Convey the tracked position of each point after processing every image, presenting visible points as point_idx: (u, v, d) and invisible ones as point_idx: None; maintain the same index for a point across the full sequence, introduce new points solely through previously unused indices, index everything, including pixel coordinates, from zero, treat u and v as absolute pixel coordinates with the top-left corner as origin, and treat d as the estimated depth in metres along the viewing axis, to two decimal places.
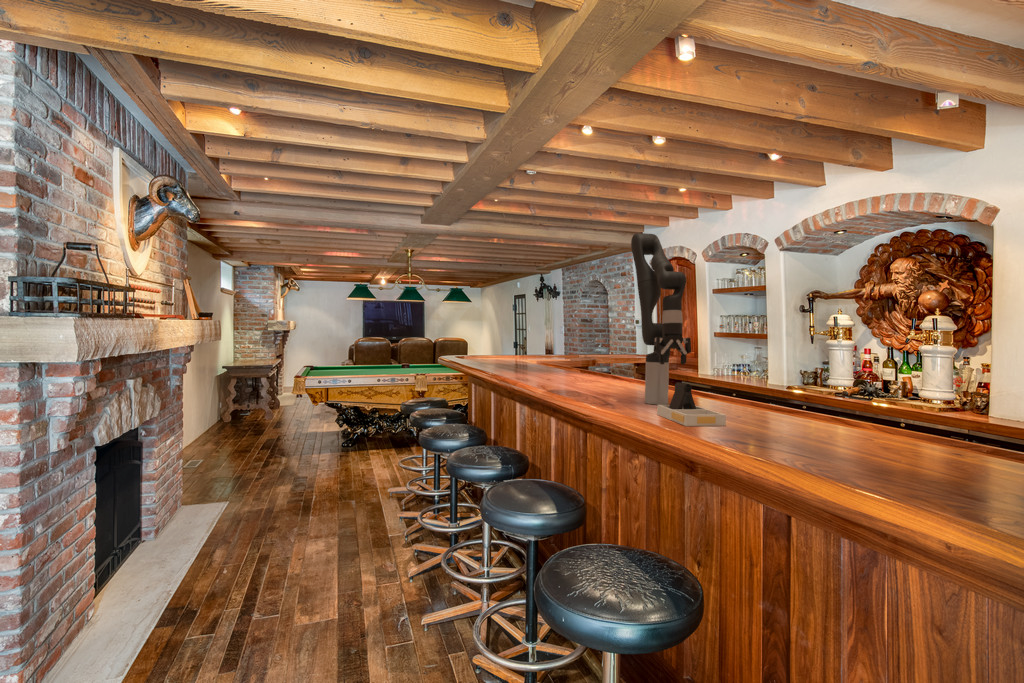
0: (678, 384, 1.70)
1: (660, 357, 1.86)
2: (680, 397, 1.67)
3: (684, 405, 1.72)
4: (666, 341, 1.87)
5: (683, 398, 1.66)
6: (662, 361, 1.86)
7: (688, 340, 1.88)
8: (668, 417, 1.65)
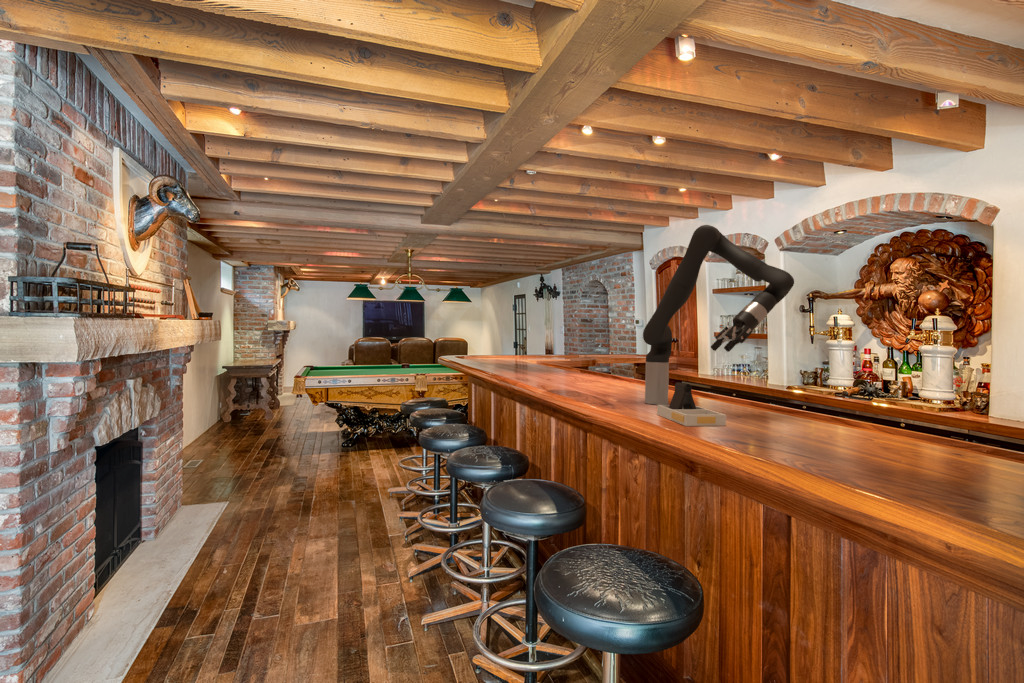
0: (678, 384, 1.70)
1: None
2: (680, 397, 1.67)
3: (684, 405, 1.72)
4: None
5: (683, 398, 1.66)
6: (730, 349, 1.66)
7: None
8: (668, 417, 1.65)
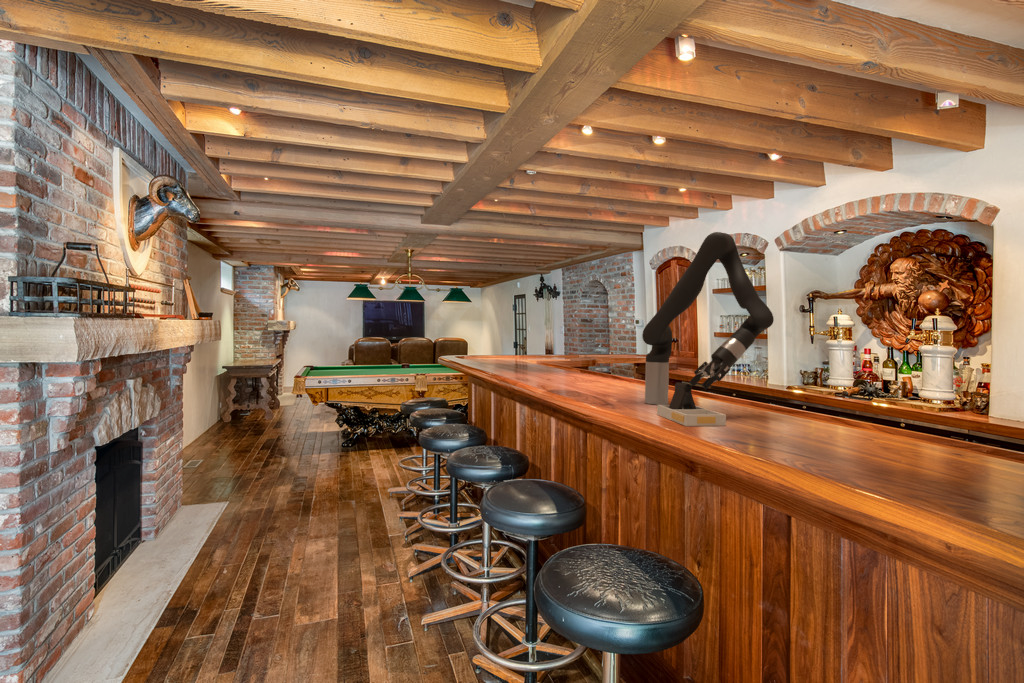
0: (678, 384, 1.70)
1: (711, 383, 1.65)
2: (680, 397, 1.67)
3: (684, 405, 1.72)
4: None
5: (683, 398, 1.66)
6: (708, 387, 1.66)
7: None
8: (668, 417, 1.65)
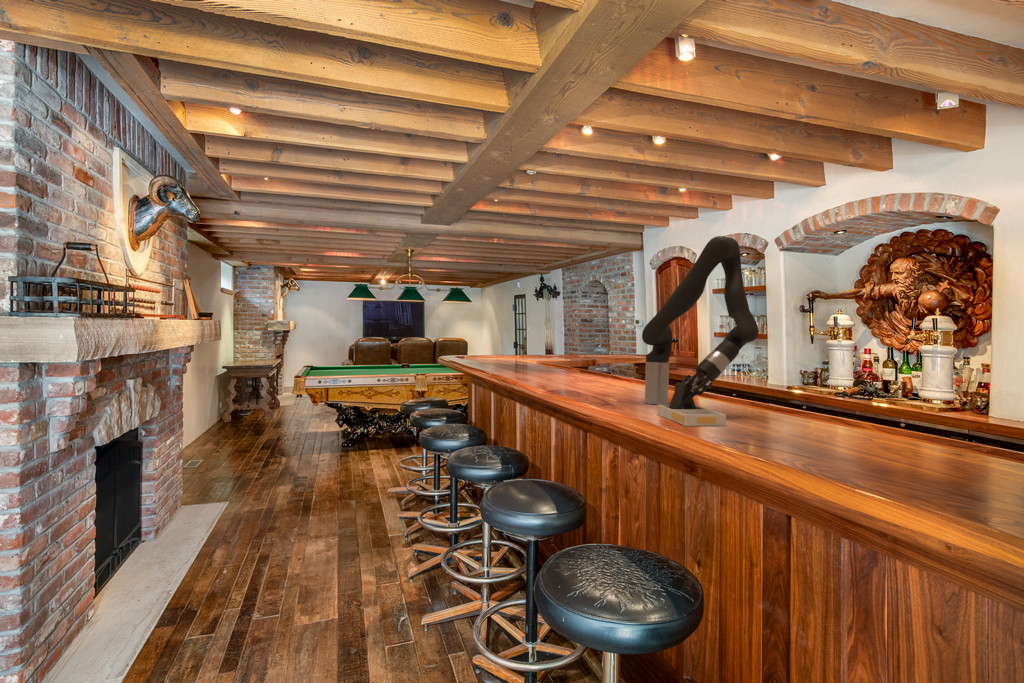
0: (678, 384, 1.70)
1: (692, 397, 1.65)
2: (680, 397, 1.67)
3: (684, 405, 1.72)
4: None
5: None
6: None
7: None
8: (668, 417, 1.65)
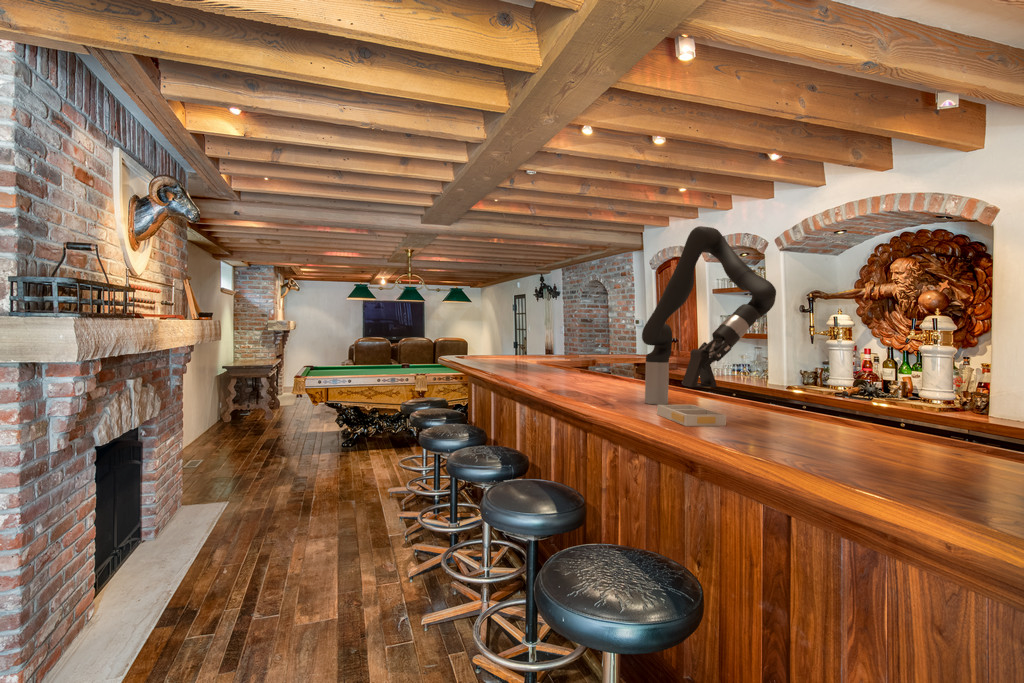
0: (694, 351, 1.60)
1: None
2: (697, 364, 1.57)
3: (700, 373, 1.61)
4: None
5: None
6: None
7: None
8: (668, 417, 1.65)
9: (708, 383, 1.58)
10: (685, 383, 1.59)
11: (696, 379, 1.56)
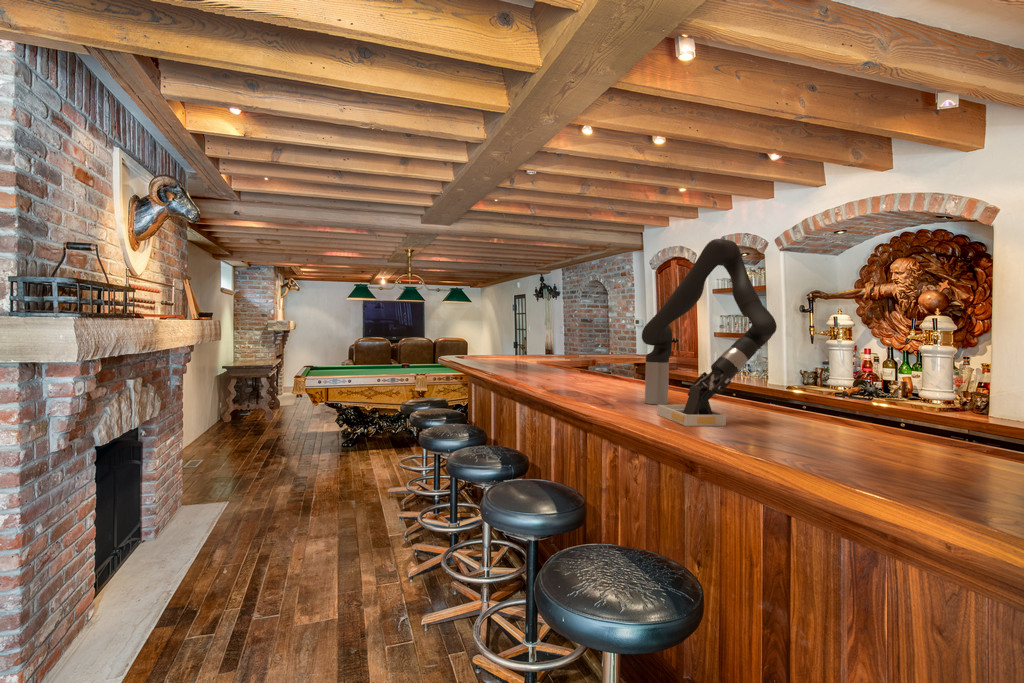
0: (693, 387, 1.60)
1: (711, 396, 1.54)
2: (696, 401, 1.57)
3: (699, 410, 1.62)
4: None
5: (698, 402, 1.56)
6: (707, 400, 1.55)
7: None
8: (668, 417, 1.65)
9: None
10: None
11: None
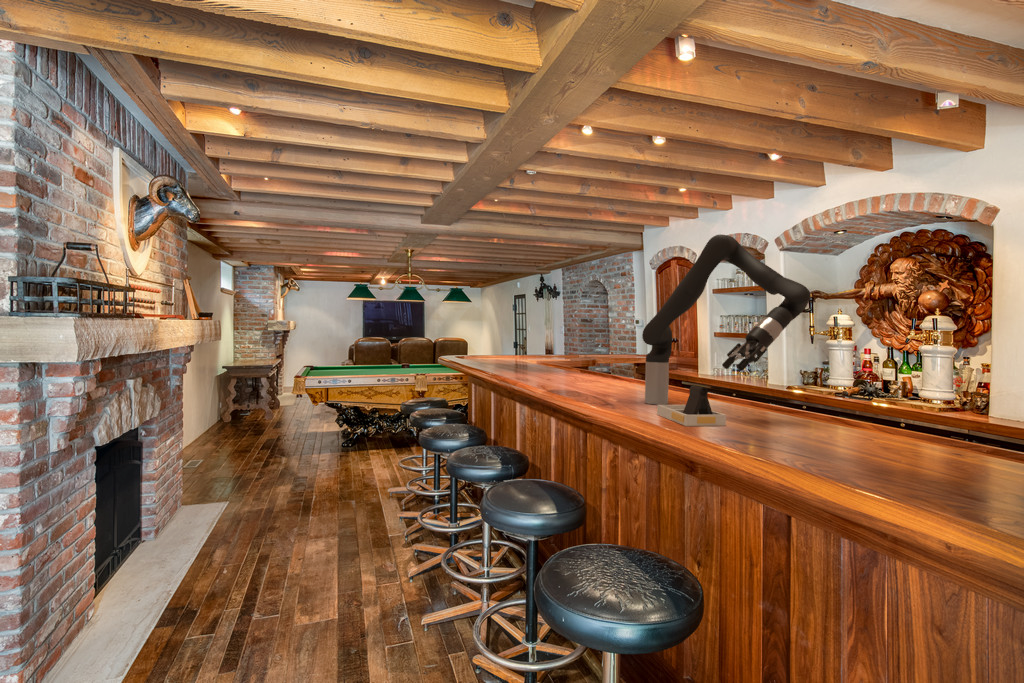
0: (693, 387, 1.60)
1: None
2: (696, 401, 1.57)
3: (699, 410, 1.62)
4: None
5: (698, 402, 1.56)
6: None
7: None
8: (668, 417, 1.65)
9: None
10: None
11: None
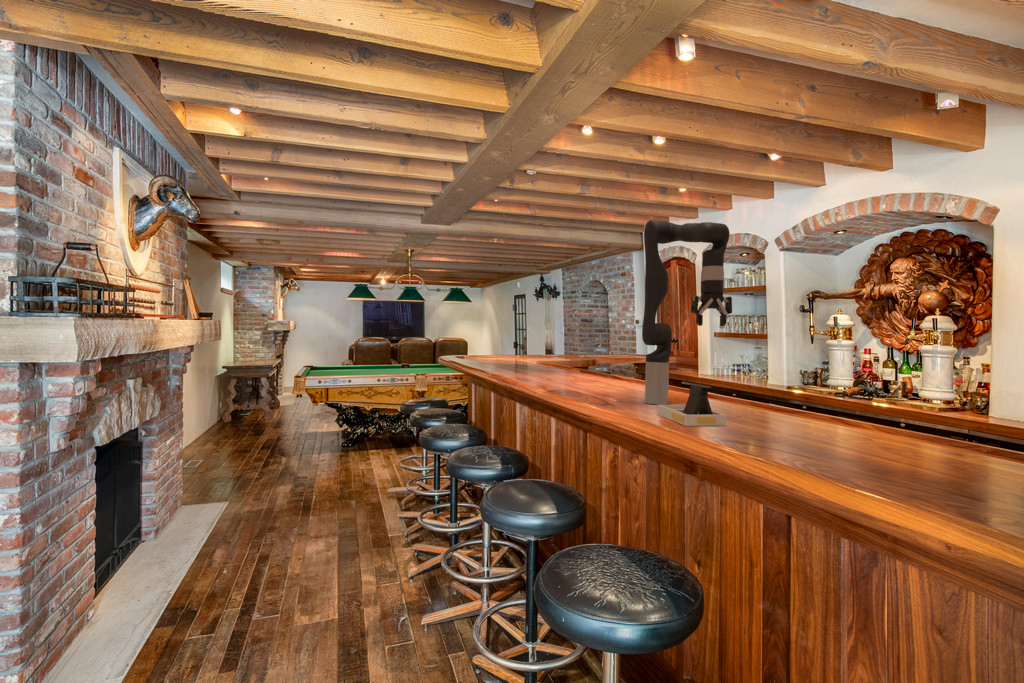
0: (693, 387, 1.60)
1: (698, 318, 1.70)
2: (696, 401, 1.57)
3: (699, 410, 1.62)
4: (705, 300, 1.70)
5: (699, 402, 1.56)
6: (700, 322, 1.70)
7: (729, 299, 1.71)
8: (668, 417, 1.65)
9: None
10: None
11: None
